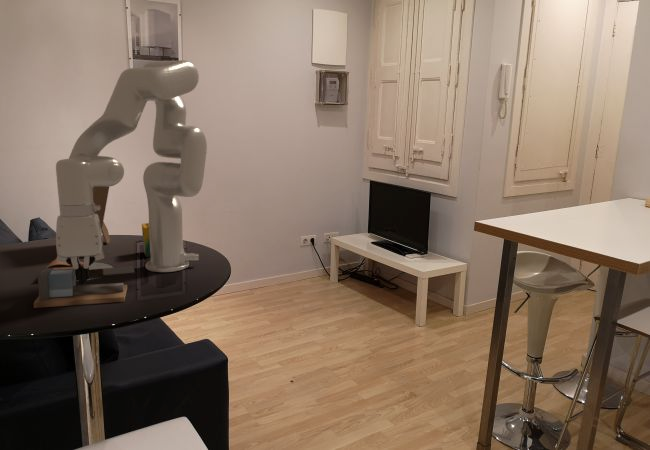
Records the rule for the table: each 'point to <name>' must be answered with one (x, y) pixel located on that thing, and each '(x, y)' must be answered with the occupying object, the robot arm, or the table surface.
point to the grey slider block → (61, 282)
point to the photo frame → (101, 208)
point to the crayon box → (146, 239)
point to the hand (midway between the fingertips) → (83, 282)
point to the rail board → (87, 295)
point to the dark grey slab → (44, 284)
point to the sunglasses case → (61, 265)
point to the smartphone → (111, 272)
